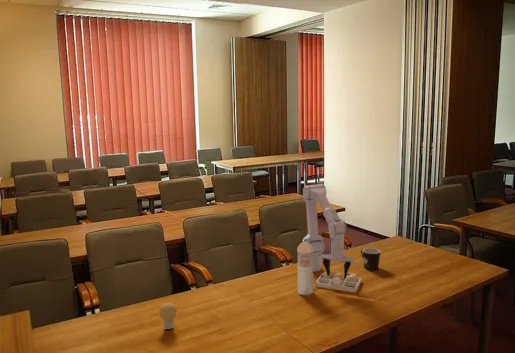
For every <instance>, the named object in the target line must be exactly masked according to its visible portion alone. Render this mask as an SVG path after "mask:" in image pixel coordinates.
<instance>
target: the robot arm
mask: <svg viewBox="0 0 515 353" xmlns="http://www.w3.org/2000/svg"><path fill="white" fill-rule="evenodd" d="M302 197H303V202H305V207H306V209H305V210H306V223H307V234H306V236H304V237H303V238H307V242H308V243H309V244H311V246H312V247H313V272H320V271H321V270H322V269H321V267H322V264H323V266H324V269H325V271H326V272H327V276H329V275H330V272H331V261H332V262H337V263H338V262H339V263H344V264H343V268H344V269H343V270H344V271H343V272H344V273H343V274H344V278H345V279H346V277H347V276H348V275H347V273H349V269H350V267H351V265H352V264H354V262H355V258H354V257H349V256H346V255H344V254H345V252H344V251H345V234H346V233H347V231H348V230H347V229H348V225H347V223H346V221H345V220H343V219H342V218H340V217H339V214H338V212H337V211H336V209H335V208H334V207H331V205H330V202H329V199H328V198H327V188H326V186H325V184H324V183H320V184H310V185H304V187H303V188H302ZM317 203H318V204H319V206H320V207H321V209H322V210H323V217H324V219H325V221H326V223H327V224H328V227H327V228H328V233H329V238H330V254H326V253H325V254H323V252H324V251H325V248H326V247H325V246H326V245H325V243H324V237H322V236H321V235H320V234H319V225H318V224H319V223H318V210H317V208H318V207H317ZM321 263H322V264H321Z"/></svg>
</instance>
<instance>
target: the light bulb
mask: <svg viewBox="0 0 515 353" xmlns="http://www.w3.org/2000/svg"><path fill="white" fill-rule="evenodd" d="M177 311H178V310H177V307H176V305H175V304H173V303H172V302H166V303H163V304H162V305H161V306H160V307H159V311H158V312H159V315H160V316H159V317H160V318H161V319H162V320H163V329H164V330H166V329H171V328H172V329H174V327H175V324H174V319H175V317H176V315H177ZM172 329H171V330H172Z"/></svg>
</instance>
